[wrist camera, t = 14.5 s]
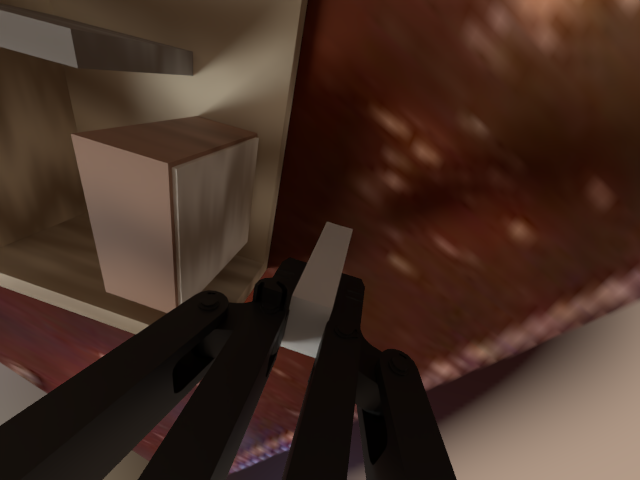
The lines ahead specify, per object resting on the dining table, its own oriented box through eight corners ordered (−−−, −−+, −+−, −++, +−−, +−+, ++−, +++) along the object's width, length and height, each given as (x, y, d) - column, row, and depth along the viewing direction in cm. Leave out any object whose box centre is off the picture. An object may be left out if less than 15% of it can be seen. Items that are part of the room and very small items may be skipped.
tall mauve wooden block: (197, 115, 17) (70, 133, 10) (260, 134, 17) (172, 165, 10) (197, 226, 21) (106, 291, 15) (248, 243, 21) (179, 317, 14)
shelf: (20, -132, 14) (-414, -392, 7) (318, -68, 13) (213, -295, 5) (95, 213, 24) (-42, 270, 17) (266, 268, 23) (205, 358, 15)
